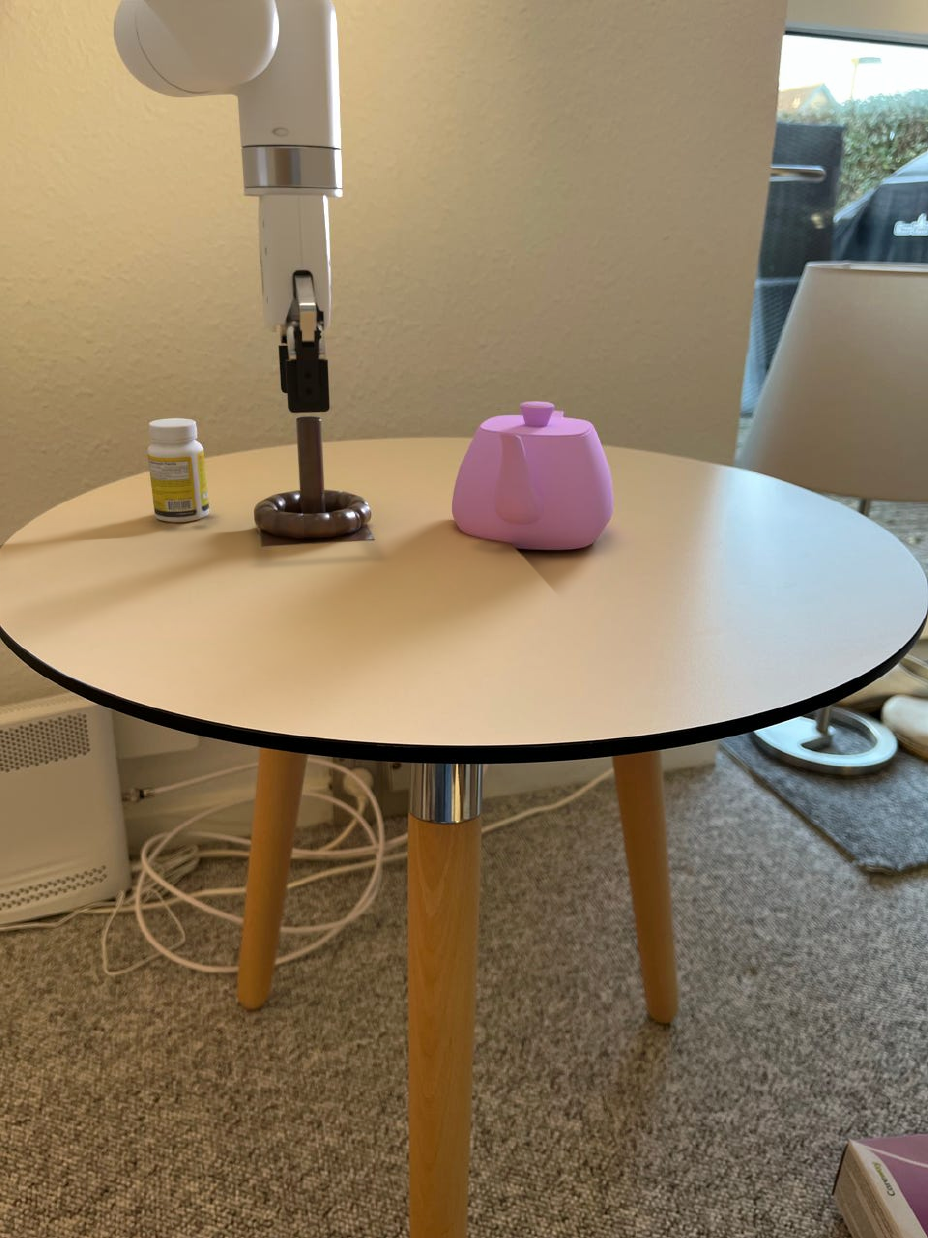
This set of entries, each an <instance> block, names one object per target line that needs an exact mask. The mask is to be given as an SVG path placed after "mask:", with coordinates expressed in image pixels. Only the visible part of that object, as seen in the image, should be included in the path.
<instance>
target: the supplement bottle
mask: <svg viewBox="0 0 928 1238" xmlns="http://www.w3.org/2000/svg"><path fill="white" fill-rule="evenodd" d="M148 437H149V440H150V441H151V442H152V443H151V444H149V446H148V447H147V452H146V453H147V462H148V470H149V479H150V486H151V488H150V489H151V495H152V496H151V497H152V504H153V510H154V516H155V518H156V519H157V520H159V521H163V522H168V523H189V522H195V521H198V520H201V519H204V518H206V517H207V516H208V515H209V513H210V502H209V494H208V483H207V473H206V463H205V453H204V448H203V445H202V444H201V443H200V442H199V441H198V440H197V439H198V429H197V422H196V421H195V420H194V419H191V418H182V417H172V418H160V419H155V420H152V421H150V422H148Z"/></svg>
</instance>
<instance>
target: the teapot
mask: <svg viewBox="0 0 928 1238" xmlns="http://www.w3.org/2000/svg"><path fill="white" fill-rule="evenodd" d="M519 407H520V408H519V410H520V412H521V414H505V415H496V416H493V417H489V418H488V419H486V420H485V421H483V422H481V424H479V426H478V428H477V429H476V431H475V433H474V435H473V437H472V439H471V442H470V443H469V444H468V445H469V446H468V447H467V449H466V452H465V454H464V456H463V459H462V461H461V464H460V466H459V469H458V472H457V476H456V479H455V484H454V487H453V488H454V489H453V493H452V501H451V514H452V517H453V519H454V522H455V523H456V525H457V527H458V528H459V530H460V531H461V532H463V533H465V534H466V535H468V536H471V537H476V538H481V539H486V540H492V541H496V542H504V543H510V544H511V545H512V546H513V547H514V548H515V549H519V550H535V551H536V550H539V551H540V550H541V551H542V550H543V551H545V550H546V551H565V550H566V551H567V550H576V549H582V548H585V547H588V546H591V545H592V544H593V543H595V541H596V540H597V539H598V537H599V536H600V535H601V534H602V533H603V531H604V530H605V528H606V527H607V526H608V524H609V523H610V521H611V519H612V516H613V512H614V490H613V481H612V480H613V479H612V475H611V469H610V466H609V462H608V459H607V457H606V453H605V451H604V447H603V445H602V443H601V440H600V437H599V435H598V433H597V430H596V429H595V426H594V424H593V423H592V422H590V421H588V420H586V419H580V418H573V417H565V416H564V411H563V410H554V409H555V404H553V403H551V402H548V401H538V400H537V401H536V400H535V401H525V402H522V403H520V404H519Z"/></svg>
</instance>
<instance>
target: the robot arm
mask: <svg viewBox="0 0 928 1238" xmlns="http://www.w3.org/2000/svg"><path fill="white" fill-rule="evenodd" d="M337 21H338V20H337V12H336V9H335V6H334V3H333V1H332V0H120V2H119V4H118V6H117V9H116V12H115V15H114V20H113V39H114V44H115V47H116V51H117V53H118V55H119V57H120V60H121V61H122V63H123V65H124V66H125V68H126V69H127V70H128V72H129V73H130V74H131V75H132V76H133V77H134V79H136V80H137V81H138V82H139V83H140V84H142V85H143V86H144V87H147V89H150V90H151V91H153V92H156V93H158V94H161V95H164V96H166V97H167V96H168V97H172V98H195V97H203V96H204V97H206V96H220V95H232V96H233V95H234V96H235V97H237V108H238V122H239V138H240V148H241V149H240V151H241V152H240V153H241V166H242V181H243V182H242V183H243V196H244V197H256V198H257V197H258V246H259V247H258V248H259V249H258V250H259V264H260V277H261V278H260V279H261V295H262V314H263V315H262V316H263V323H264V325H265V327H266V328H267V329H268V330H269V331H270V332H271V333H277V326H279V337H280V338H279V339H280V345H279V344H278V360H279V361H278V362H279V378H280V389H281V392H282V393H283V394H287V395H286V397H287V408H288V411H289V413H290V414H291V413H292V414H308V413H309V414H311V413H312V414H313V413H327V412H329V410H330V409H331V407H330V405H331V403H330V384H329V383H330V382H329V381H330V380H329V359H327V358H326V344H325V335H324V334H325V333H324V332H325V331H326V330H328V329H329V328H330V326H331V316H332V315H331V310H332V309H331V308H332V307H331V306H332V305H331V302H332V281H331V280H332V273H331V241H330V239H331V238H330V219H329V217H330V216H329V198H343V197H344V196H343V194H344V193H343V168H342V167H343V165H342V163H343V162H342V133H341V106H340V105H341V104H340V75H339V71H340V70H339V45H338V44H339V43H338V22H337Z"/></svg>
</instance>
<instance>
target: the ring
mask: <svg viewBox="0 0 928 1238" xmlns="http://www.w3.org/2000/svg"><path fill="white" fill-rule="evenodd" d="M324 493H325V513H315V514H300V513H301V503H300V489H297V490H292V491H291V490H290V491H286V492H281V493H276V494H272V495H270V496H268V497H266V498H264V499H262V500H261V501H259V502H257V504H256V505H255V506H254V508H253V517H254V524H255V526H256V527H257V529H258V528H260V529H261V530H263V531H266V532H268V533H270V534H273V535H275V536H279V537H288V538H297V539H317V538H332V537H336V536H340V535H345V534H349V533H353V532H356V531H357V530H359V529H360V528H362V527H363V526H364V525H366V524H367V525H368V523H370V522H371V520H372V515H373V514H372V510H371V507H370V505H369V503H368V501H367V500H366V499H365V498H364V497H362V496H359V495H357V494H354V493H350V492H348V491H343V490H333V489H332V490H331V489H324Z"/></svg>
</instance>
